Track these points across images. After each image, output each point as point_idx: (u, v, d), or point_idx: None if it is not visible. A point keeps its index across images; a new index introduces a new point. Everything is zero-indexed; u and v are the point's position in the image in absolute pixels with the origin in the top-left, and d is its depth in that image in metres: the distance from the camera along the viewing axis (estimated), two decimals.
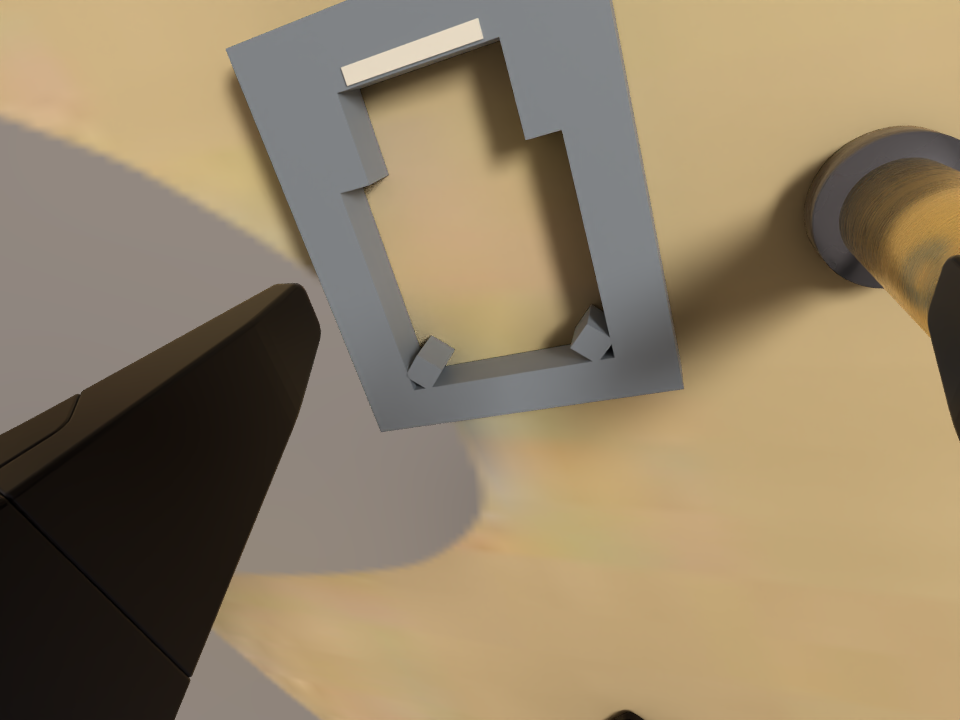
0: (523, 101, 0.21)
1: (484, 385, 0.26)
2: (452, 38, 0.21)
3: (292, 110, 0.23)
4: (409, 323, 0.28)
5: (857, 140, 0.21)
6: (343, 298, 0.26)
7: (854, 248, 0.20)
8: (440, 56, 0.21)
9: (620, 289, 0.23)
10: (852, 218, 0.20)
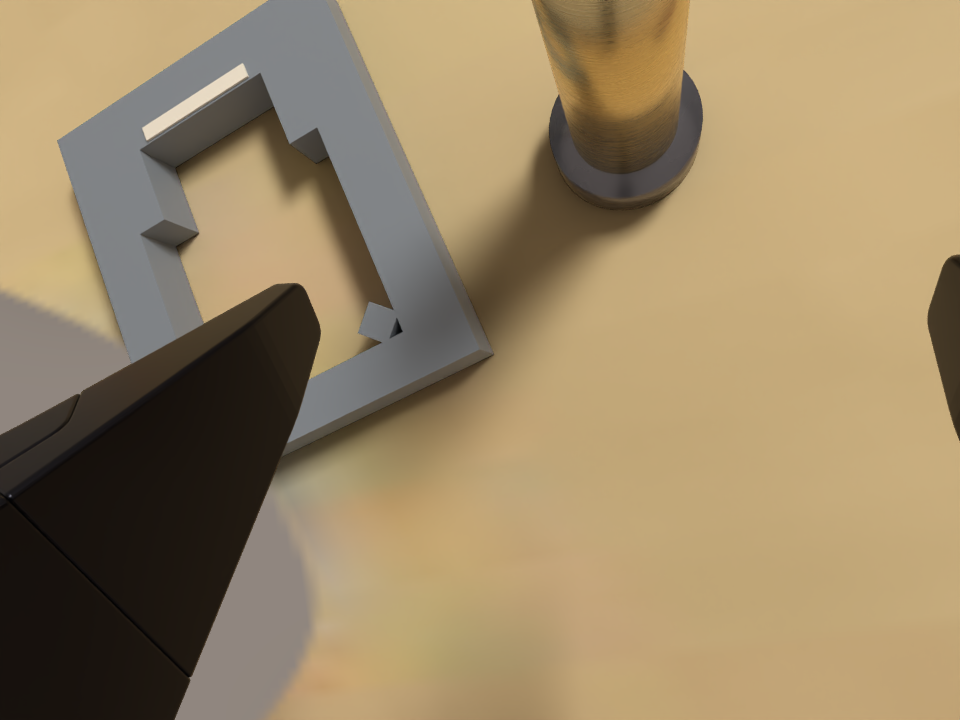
0: (283, 113, 0.24)
1: None
2: (224, 82, 0.25)
3: (104, 173, 0.26)
4: None
5: None
6: (140, 339, 0.25)
7: (573, 134, 0.20)
8: (218, 100, 0.25)
9: (392, 255, 0.23)
10: None
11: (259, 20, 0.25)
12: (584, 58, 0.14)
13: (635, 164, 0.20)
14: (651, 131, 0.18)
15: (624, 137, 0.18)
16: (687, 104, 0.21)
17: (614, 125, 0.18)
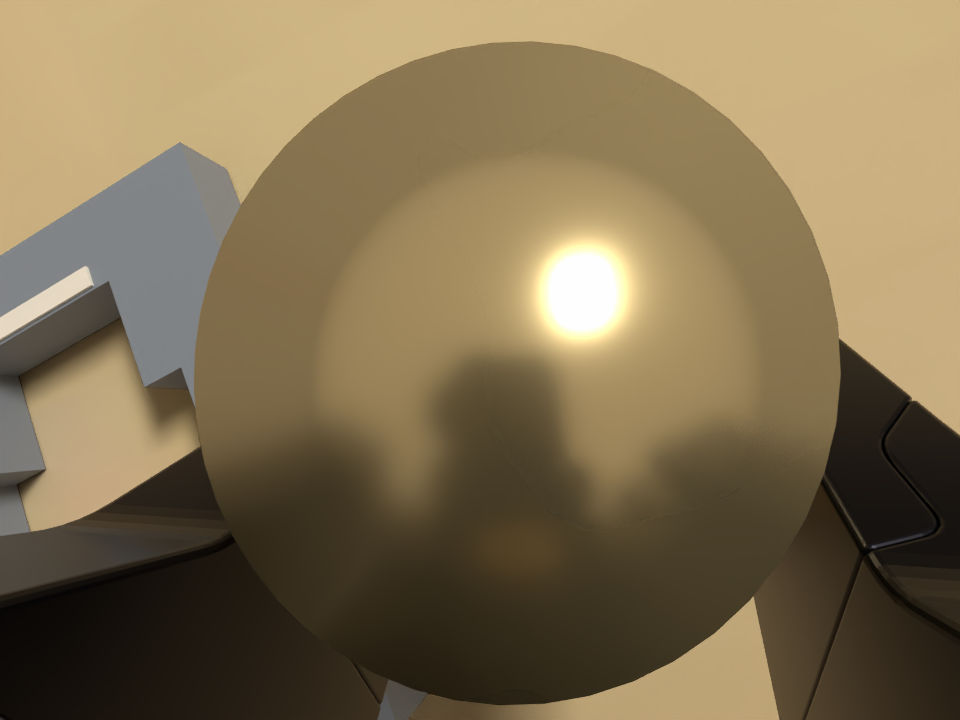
0: (137, 343, 0.17)
1: None
2: (61, 291, 0.18)
3: None
4: None
5: None
6: None
7: None
8: (55, 313, 0.18)
9: None
10: None
11: (109, 205, 0.18)
12: None
13: None
14: None
15: None
16: None
17: None
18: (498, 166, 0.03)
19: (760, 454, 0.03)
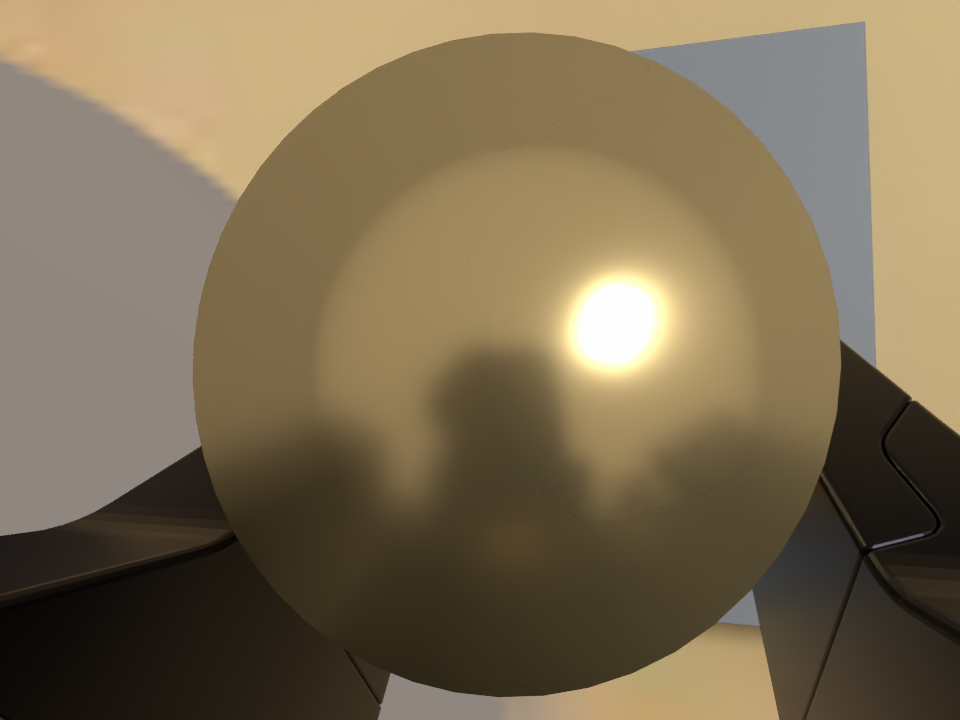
0: None
1: None
2: None
3: None
4: None
5: None
6: None
7: None
8: None
9: None
10: None
11: (756, 53, 0.18)
12: None
13: None
14: None
15: None
16: None
17: None
18: (498, 157, 0.03)
19: (761, 445, 0.03)
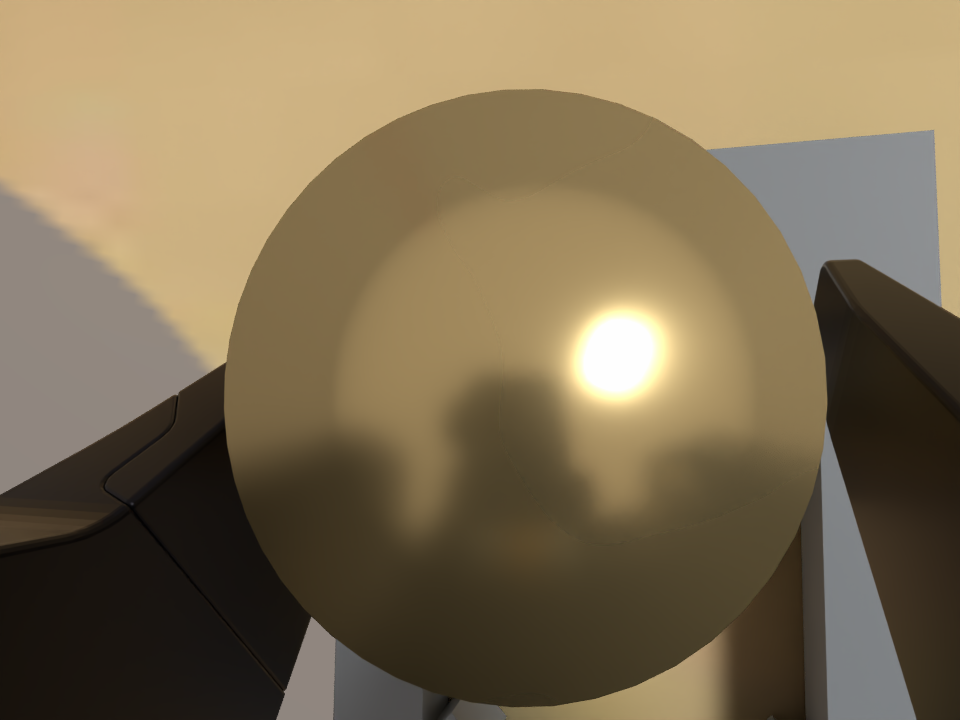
0: None
1: None
2: None
3: None
4: None
5: None
6: None
7: None
8: None
9: (870, 713, 0.12)
10: None
11: (789, 166, 0.14)
12: None
13: None
14: None
15: None
16: None
17: None
18: (511, 206, 0.04)
19: (754, 476, 0.03)
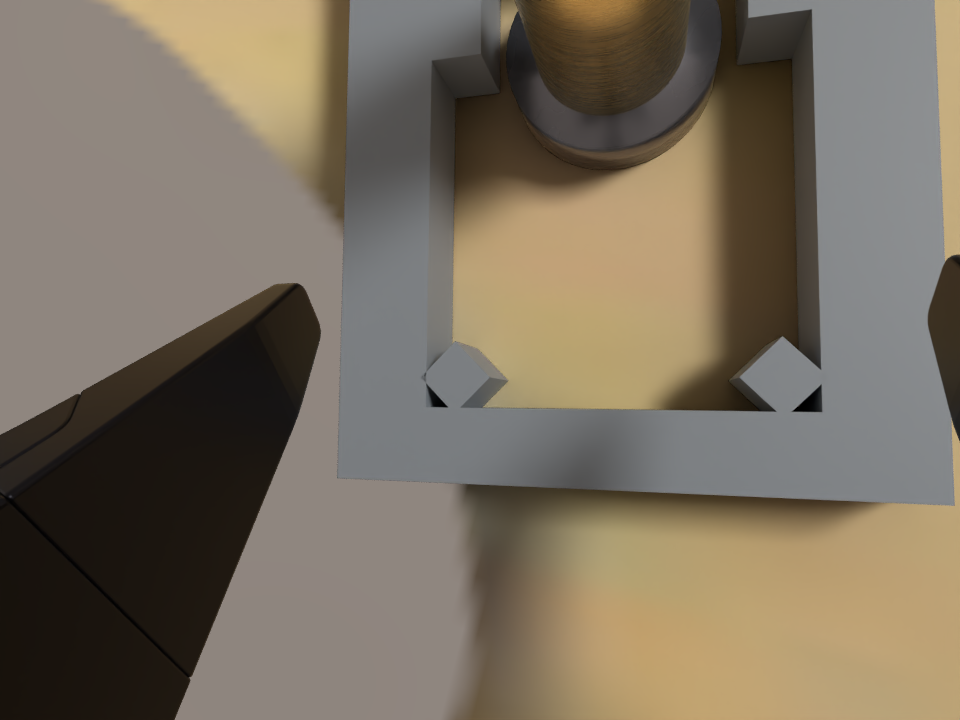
0: None
1: (556, 422, 0.14)
2: None
3: None
4: (450, 318, 0.17)
5: None
6: (371, 222, 0.16)
7: (535, 52, 0.14)
8: None
9: (859, 281, 0.13)
10: None
11: None
12: None
13: (625, 97, 0.14)
14: (647, 39, 0.12)
15: (607, 46, 0.12)
16: (699, 14, 0.15)
17: (589, 23, 0.11)
18: None
19: None
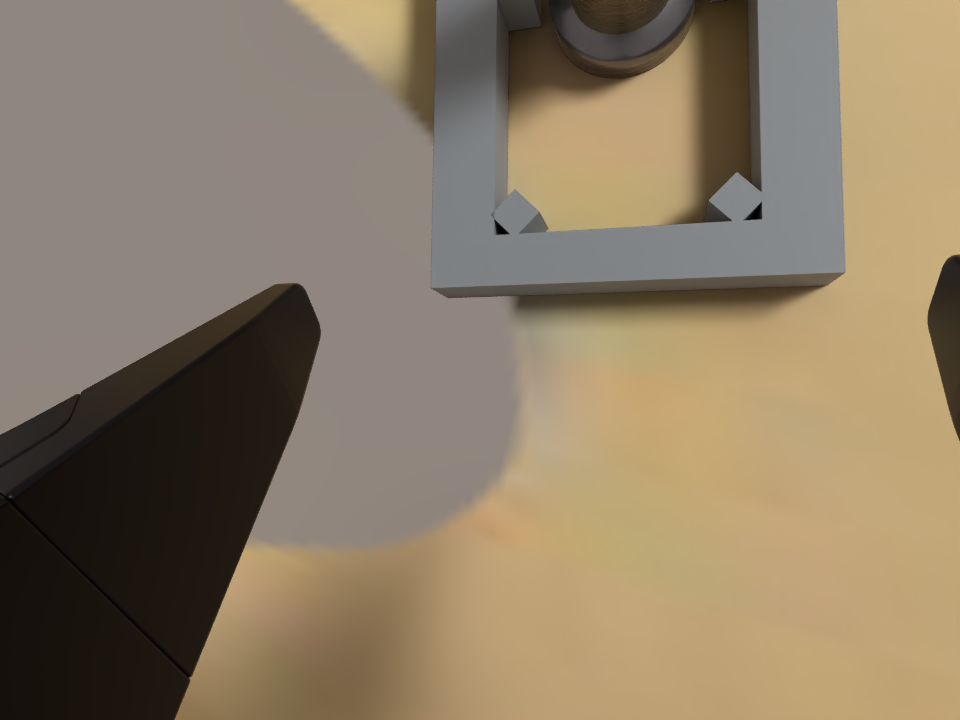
0: None
1: (585, 238, 0.21)
2: None
3: None
4: (506, 186, 0.24)
5: None
6: (453, 111, 0.23)
7: None
8: None
9: (786, 133, 0.20)
10: None
11: None
12: None
13: (632, 19, 0.21)
14: None
15: None
16: None
17: None
18: None
19: None
